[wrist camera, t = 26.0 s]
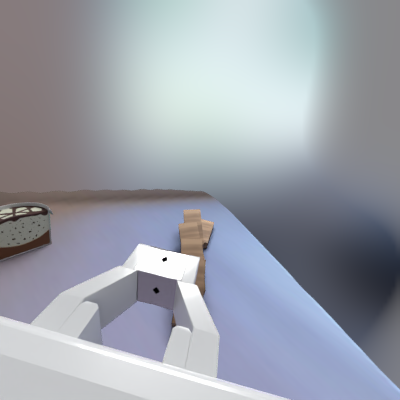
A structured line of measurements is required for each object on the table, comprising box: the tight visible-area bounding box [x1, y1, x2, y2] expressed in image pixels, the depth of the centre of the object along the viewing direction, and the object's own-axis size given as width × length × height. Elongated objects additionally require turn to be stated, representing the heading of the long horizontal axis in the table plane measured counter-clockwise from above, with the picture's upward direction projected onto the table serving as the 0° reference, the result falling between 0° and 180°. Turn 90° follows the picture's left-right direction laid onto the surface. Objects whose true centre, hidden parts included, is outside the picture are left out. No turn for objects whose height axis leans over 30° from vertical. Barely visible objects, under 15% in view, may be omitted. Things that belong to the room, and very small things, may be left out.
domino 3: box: [181, 239, 205, 295], centre depth 43 cm, size 2×5×12 cm
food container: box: [0, 203, 53, 261], centre depth 44 cm, size 12×6×10 cm, turn 141°
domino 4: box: [172, 259, 206, 326], centre depth 37 cm, size 2×5×12 cm
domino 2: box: [179, 222, 205, 260], centre depth 50 cm, size 2×5×12 cm
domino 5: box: [201, 219, 214, 248], centre depth 60 cm, size 2×5×12 cm
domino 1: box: [184, 209, 204, 249], centre depth 56 cm, size 2×5×12 cm
